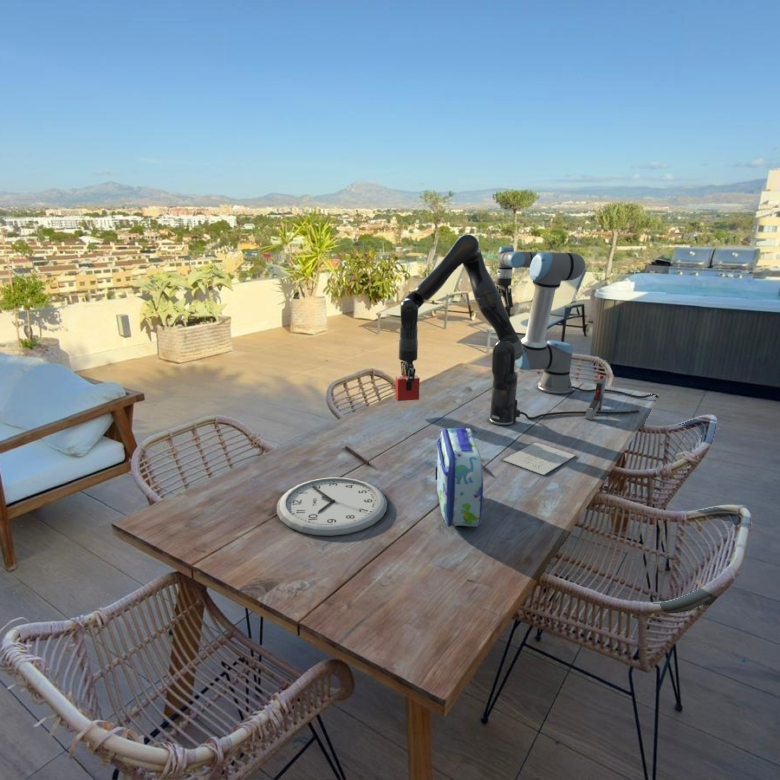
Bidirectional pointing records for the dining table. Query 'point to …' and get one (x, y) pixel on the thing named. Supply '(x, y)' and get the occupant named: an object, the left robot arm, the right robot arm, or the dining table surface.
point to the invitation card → (539, 458)
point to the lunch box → (459, 478)
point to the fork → (484, 469)
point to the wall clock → (331, 506)
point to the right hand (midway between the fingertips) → (501, 318)
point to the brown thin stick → (357, 455)
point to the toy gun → (597, 398)
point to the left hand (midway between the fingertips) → (407, 388)
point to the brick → (402, 393)
